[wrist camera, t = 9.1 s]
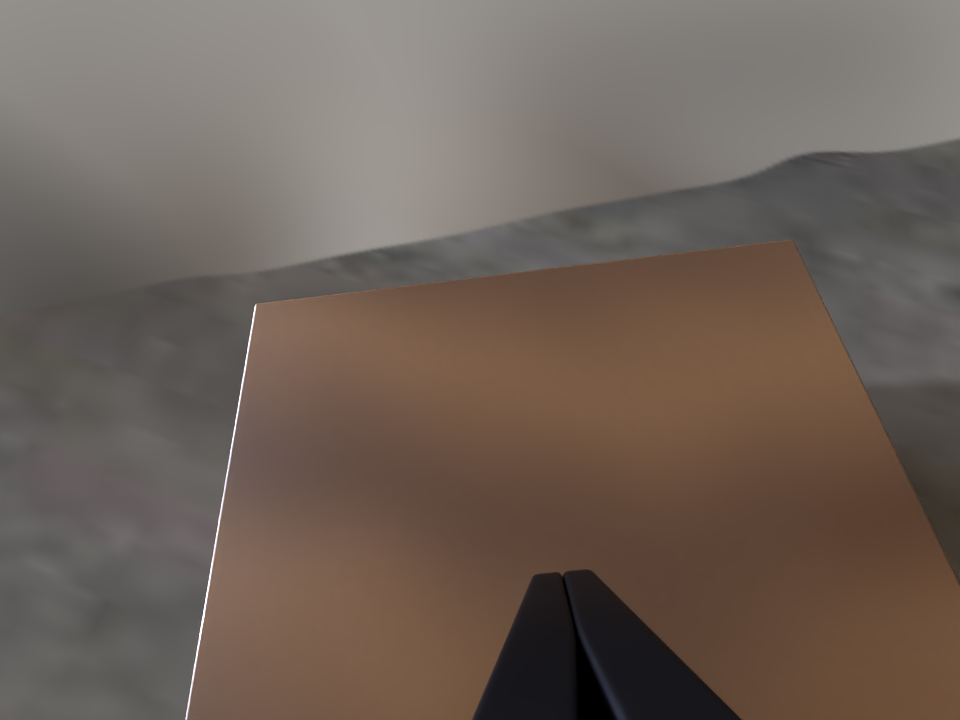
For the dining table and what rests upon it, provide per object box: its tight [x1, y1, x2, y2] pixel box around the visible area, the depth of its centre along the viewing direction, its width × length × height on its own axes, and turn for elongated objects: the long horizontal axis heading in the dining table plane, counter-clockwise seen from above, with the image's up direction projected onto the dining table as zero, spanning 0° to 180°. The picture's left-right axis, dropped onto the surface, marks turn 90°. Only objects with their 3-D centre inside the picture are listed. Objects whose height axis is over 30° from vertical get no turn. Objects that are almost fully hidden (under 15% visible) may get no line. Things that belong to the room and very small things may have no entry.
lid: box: [185, 240, 960, 720], centre depth 11 cm, size 11×14×1 cm
